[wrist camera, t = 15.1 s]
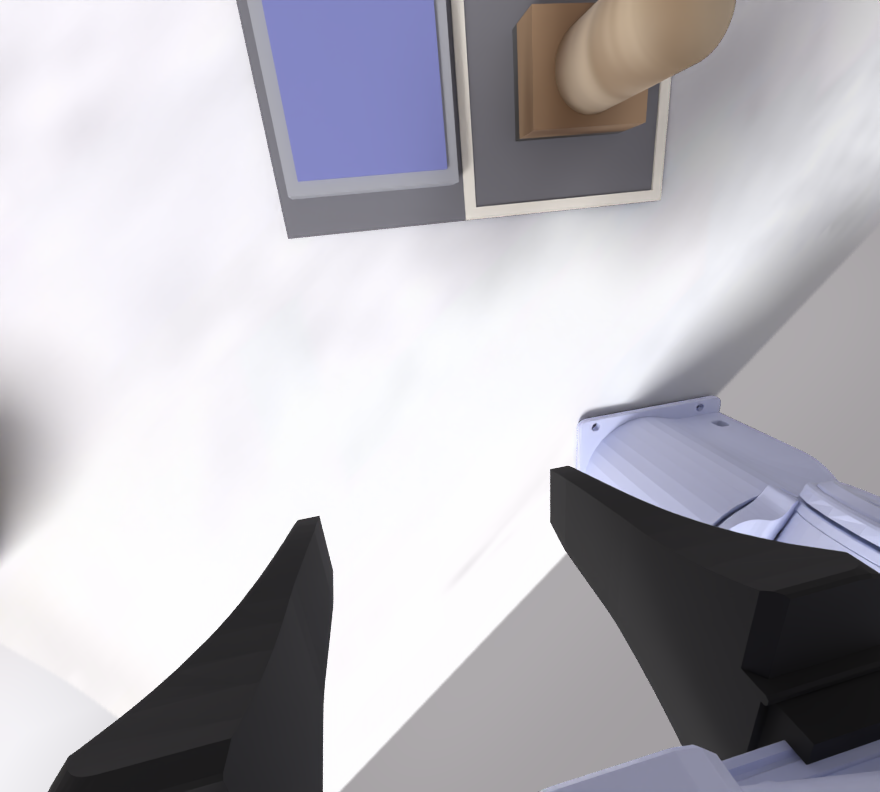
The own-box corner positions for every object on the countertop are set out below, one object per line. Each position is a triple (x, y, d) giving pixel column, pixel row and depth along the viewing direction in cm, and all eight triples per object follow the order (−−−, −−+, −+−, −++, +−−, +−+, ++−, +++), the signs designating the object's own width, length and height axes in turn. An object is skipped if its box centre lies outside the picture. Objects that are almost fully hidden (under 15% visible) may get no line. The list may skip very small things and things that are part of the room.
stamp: (623, 25, 18) (776, -96, 11) (617, 133, 19) (751, 79, 13) (512, 29, 17) (609, -99, 11) (515, 141, 19) (603, 88, 12)
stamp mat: (673, -59, 18) (709, -92, 16) (652, 201, 21) (679, 197, 19) (225, -59, 15) (208, -99, 13) (289, 238, 19) (283, 238, 17)
